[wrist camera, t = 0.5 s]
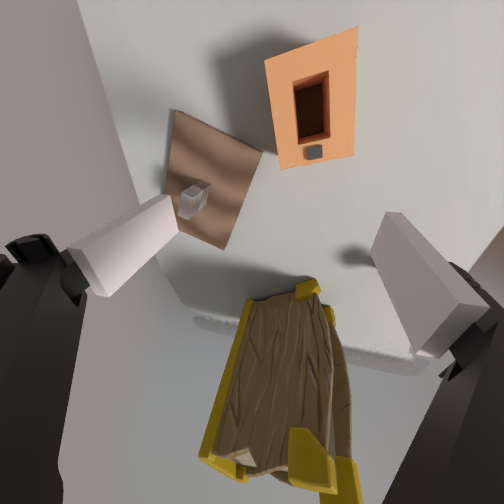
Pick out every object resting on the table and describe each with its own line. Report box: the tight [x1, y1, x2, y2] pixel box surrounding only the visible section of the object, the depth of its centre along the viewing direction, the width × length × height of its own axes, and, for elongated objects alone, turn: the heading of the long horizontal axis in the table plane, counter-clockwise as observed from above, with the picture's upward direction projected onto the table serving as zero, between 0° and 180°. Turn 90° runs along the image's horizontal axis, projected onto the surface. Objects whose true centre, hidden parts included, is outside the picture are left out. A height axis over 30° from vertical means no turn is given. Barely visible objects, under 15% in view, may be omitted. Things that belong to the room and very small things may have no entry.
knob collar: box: [264, 26, 358, 170], centre depth 24 cm, size 10×8×10 cm
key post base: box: [165, 111, 263, 250], centre depth 34 cm, size 20×14×8 cm
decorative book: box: [198, 279, 363, 504], centre depth 37 cm, size 20×11×30 cm, turn 121°
